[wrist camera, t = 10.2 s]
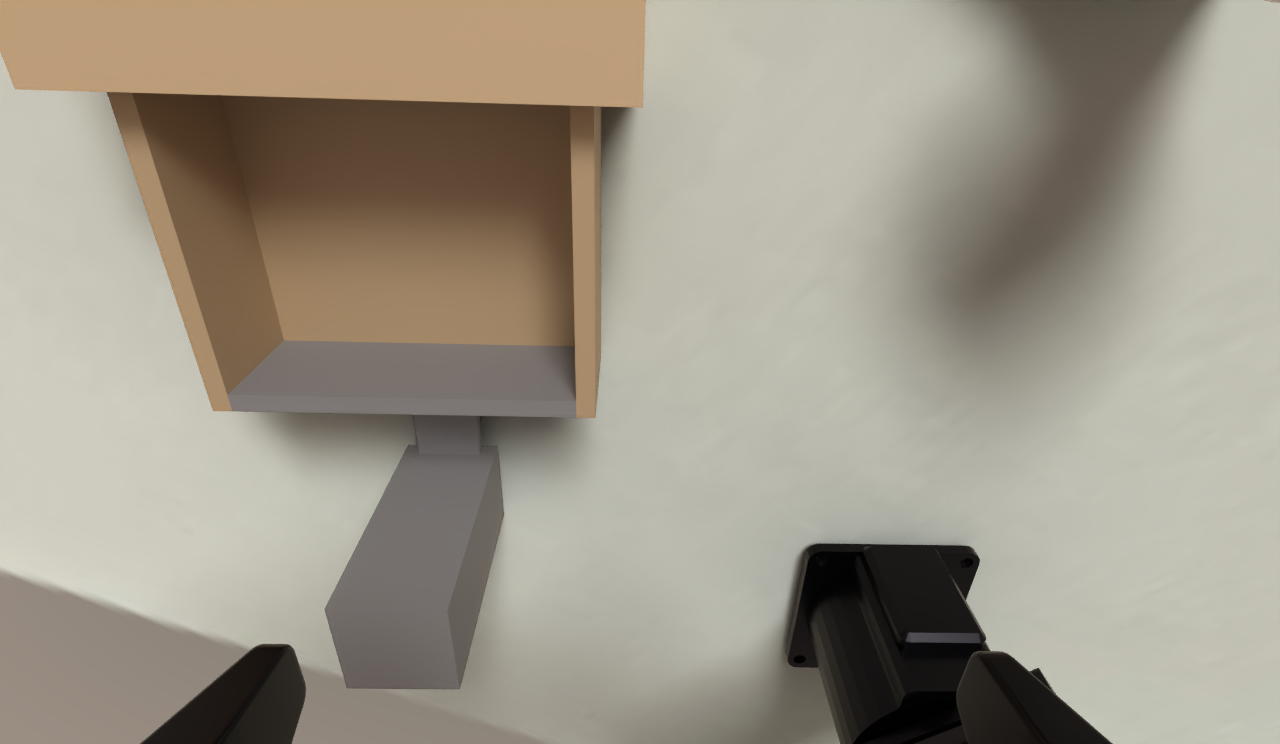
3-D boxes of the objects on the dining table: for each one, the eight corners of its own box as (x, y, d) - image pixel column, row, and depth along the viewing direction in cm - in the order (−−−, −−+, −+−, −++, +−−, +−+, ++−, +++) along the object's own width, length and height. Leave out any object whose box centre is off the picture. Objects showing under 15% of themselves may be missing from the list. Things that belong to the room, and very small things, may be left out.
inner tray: (600, 516, 24) (590, 690, 18) (321, 511, 24) (214, 686, 18) (600, -172, 15) (578, -303, 8) (138, -190, 14) (-231, -337, 8)
